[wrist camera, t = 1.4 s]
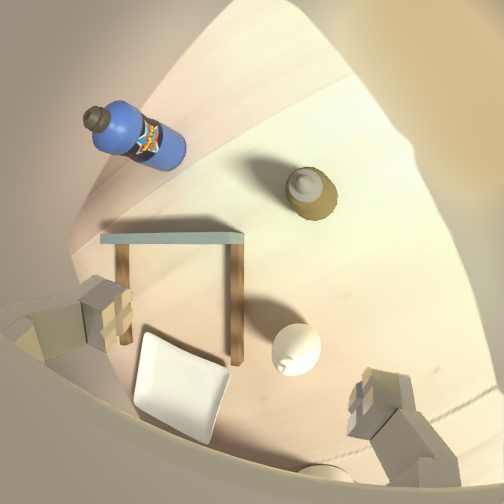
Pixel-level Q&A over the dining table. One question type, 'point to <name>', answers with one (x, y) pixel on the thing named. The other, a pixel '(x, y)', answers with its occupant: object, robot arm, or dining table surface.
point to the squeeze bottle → (311, 193)
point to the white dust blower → (295, 349)
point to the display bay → (190, 238)
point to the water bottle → (134, 136)
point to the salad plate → (179, 387)
